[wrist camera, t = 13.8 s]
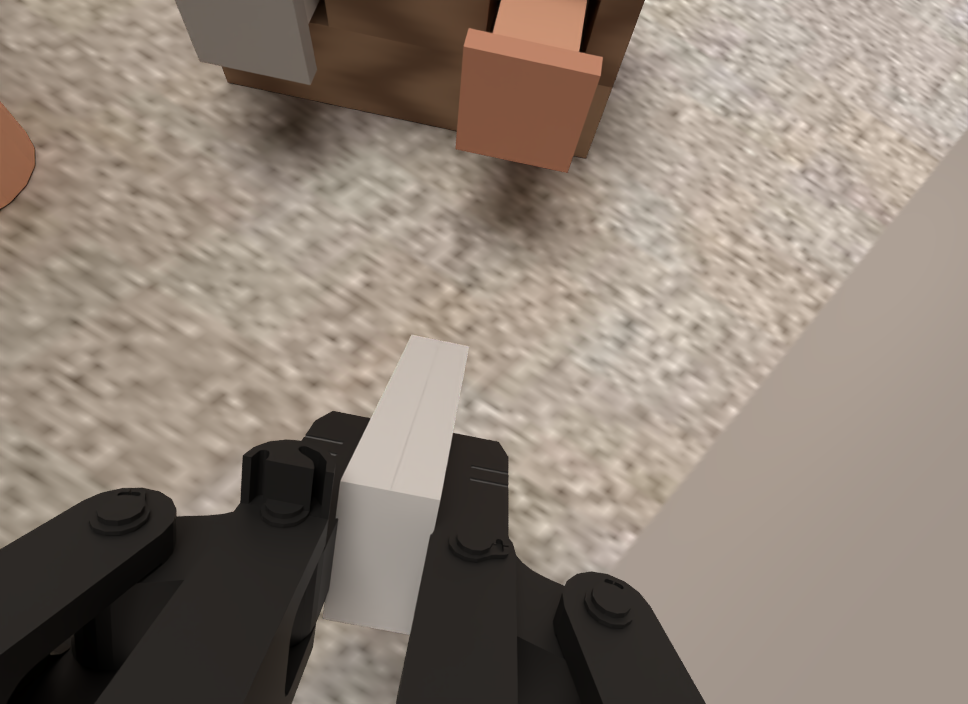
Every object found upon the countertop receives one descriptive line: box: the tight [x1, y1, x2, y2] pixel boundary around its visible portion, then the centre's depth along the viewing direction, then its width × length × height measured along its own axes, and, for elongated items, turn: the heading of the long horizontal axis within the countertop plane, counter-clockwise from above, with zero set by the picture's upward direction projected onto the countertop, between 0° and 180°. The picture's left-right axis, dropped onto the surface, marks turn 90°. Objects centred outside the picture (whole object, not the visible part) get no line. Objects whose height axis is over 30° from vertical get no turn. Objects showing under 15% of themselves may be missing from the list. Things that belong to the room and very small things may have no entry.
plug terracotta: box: [456, 0, 603, 173], centre depth 25 cm, size 5×14×5 cm, turn 170°
